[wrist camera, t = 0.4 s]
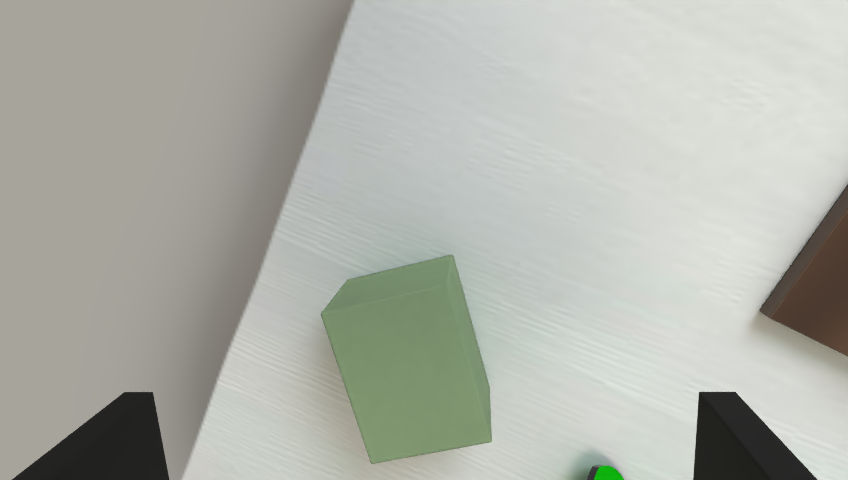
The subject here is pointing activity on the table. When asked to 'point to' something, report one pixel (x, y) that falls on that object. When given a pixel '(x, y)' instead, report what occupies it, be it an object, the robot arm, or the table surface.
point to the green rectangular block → (410, 360)
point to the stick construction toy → (604, 473)
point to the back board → (818, 284)
